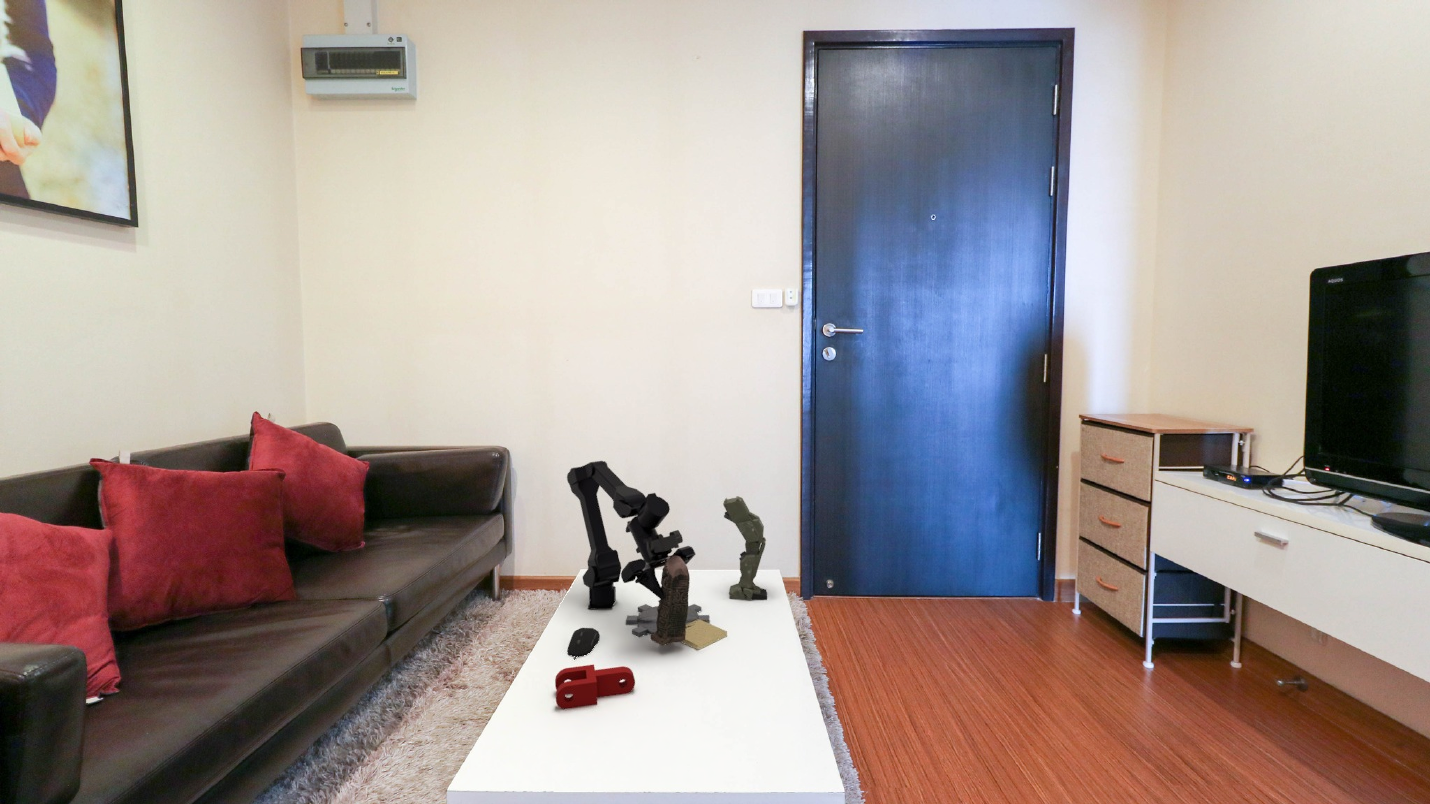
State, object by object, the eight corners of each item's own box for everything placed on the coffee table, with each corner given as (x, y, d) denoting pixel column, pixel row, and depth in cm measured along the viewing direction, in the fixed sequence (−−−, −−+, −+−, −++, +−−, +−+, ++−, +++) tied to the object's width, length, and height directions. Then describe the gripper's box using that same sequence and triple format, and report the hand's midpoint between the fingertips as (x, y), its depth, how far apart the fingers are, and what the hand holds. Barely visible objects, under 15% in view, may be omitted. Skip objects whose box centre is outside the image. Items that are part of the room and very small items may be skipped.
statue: (671, 632, 154) (671, 550, 154) (691, 640, 149) (691, 556, 149) (649, 640, 150) (649, 555, 149) (669, 648, 145) (669, 561, 144)
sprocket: (609, 622, 164) (609, 614, 164) (671, 598, 179) (671, 591, 179) (679, 658, 145) (679, 649, 145) (742, 628, 161) (742, 620, 160)
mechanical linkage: (556, 711, 125) (555, 687, 125) (555, 692, 132) (554, 669, 131) (636, 699, 129) (636, 676, 129) (632, 681, 136) (631, 659, 136)
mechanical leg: (779, 589, 184) (755, 489, 182) (779, 599, 177) (754, 495, 175) (733, 598, 186) (709, 500, 184) (731, 608, 178) (706, 506, 176)
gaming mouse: (558, 664, 144) (557, 647, 143) (578, 634, 158) (577, 619, 158) (585, 666, 143) (585, 649, 143) (602, 635, 158) (602, 620, 157)
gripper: (627, 528, 145) (655, 590, 138) (691, 513, 157) (720, 569, 150) (609, 552, 151) (635, 612, 144) (671, 537, 164) (698, 591, 156)
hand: (673, 595), depth 149 cm, fingers closed on statue, 6 cm apart
